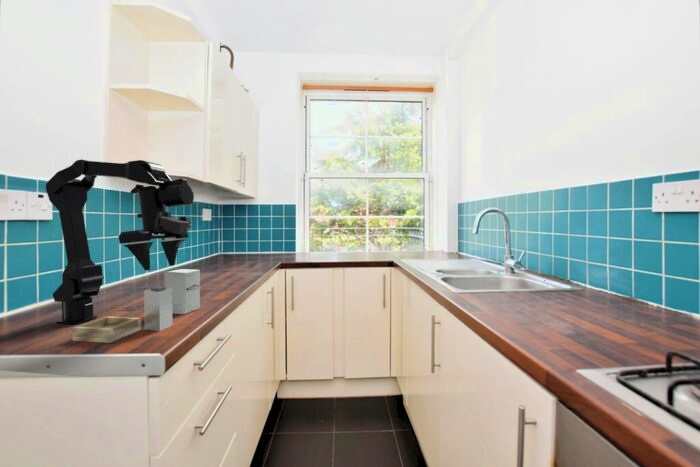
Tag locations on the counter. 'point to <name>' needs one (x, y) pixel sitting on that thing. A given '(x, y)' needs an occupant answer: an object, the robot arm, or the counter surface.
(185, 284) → the supplement box
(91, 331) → the cream square holder
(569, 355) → the counter surface
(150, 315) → the socket block
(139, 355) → the counter surface
